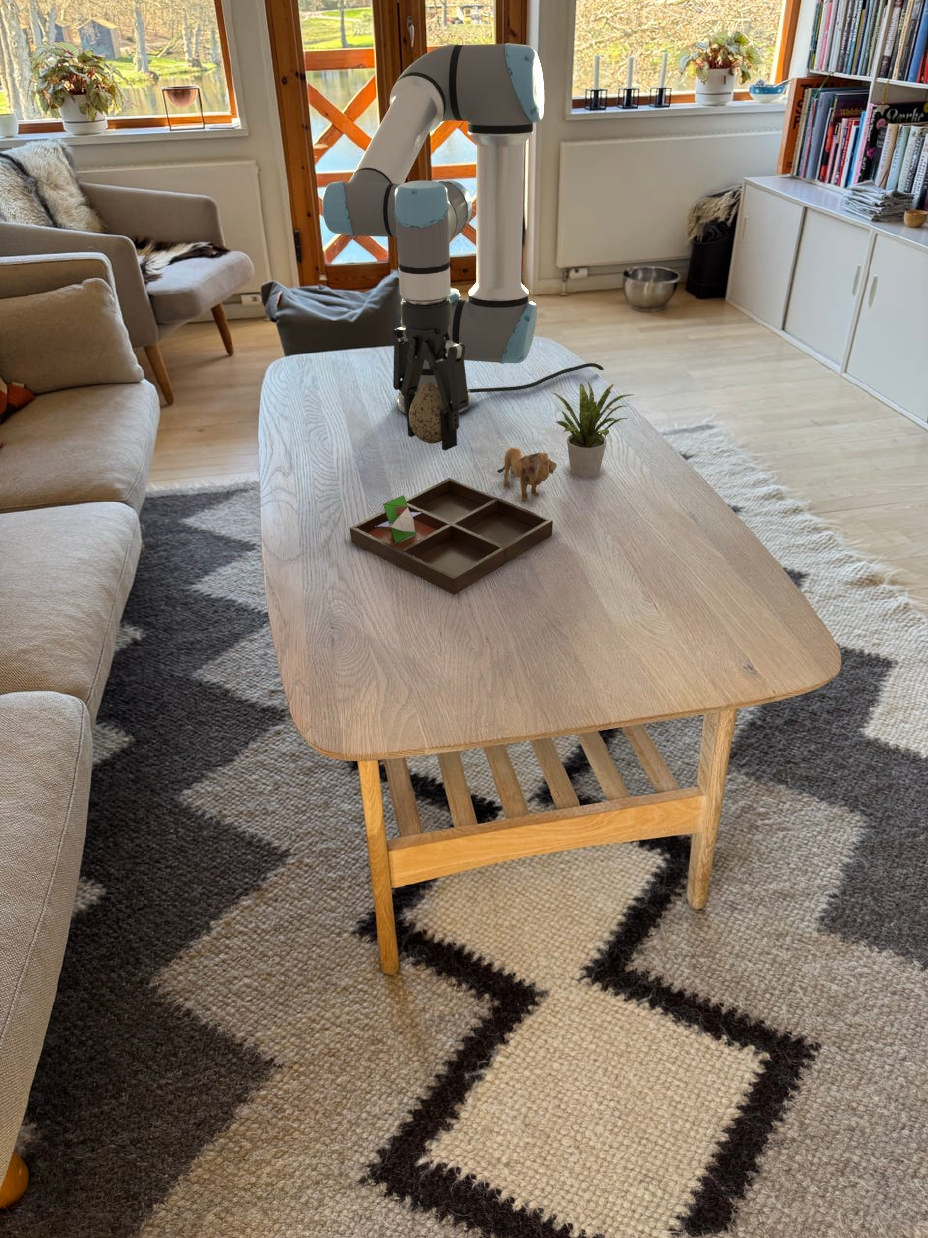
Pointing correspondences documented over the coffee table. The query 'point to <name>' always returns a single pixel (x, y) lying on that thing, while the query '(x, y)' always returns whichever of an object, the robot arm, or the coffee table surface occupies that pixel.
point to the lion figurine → (527, 469)
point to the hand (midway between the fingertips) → (432, 440)
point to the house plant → (588, 432)
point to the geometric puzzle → (399, 519)
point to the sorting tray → (455, 535)
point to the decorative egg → (427, 414)
